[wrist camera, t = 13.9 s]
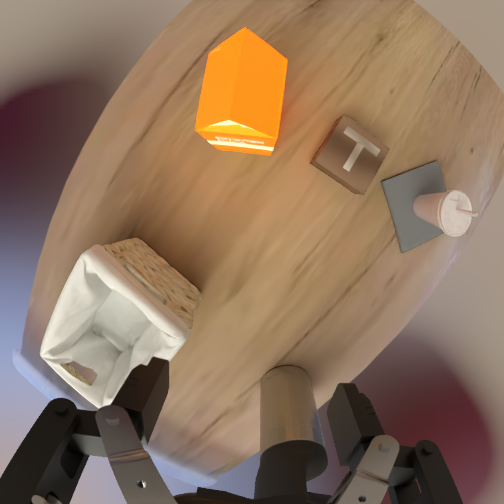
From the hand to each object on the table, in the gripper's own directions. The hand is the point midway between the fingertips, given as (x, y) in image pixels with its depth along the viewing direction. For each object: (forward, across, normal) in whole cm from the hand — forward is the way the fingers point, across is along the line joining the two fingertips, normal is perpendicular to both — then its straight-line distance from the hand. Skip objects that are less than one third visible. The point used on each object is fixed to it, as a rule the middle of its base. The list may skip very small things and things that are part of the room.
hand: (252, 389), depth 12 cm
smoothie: (+30, -25, -11) cm, 40 cm away
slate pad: (+30, -25, -11) cm, 41 cm away
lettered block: (+30, -11, -16) cm, 36 cm away
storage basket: (+30, +19, +14) cm, 38 cm away
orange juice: (+30, +4, -18) cm, 35 cm away
